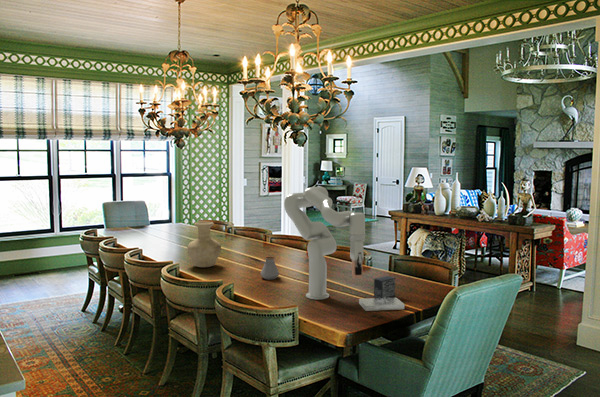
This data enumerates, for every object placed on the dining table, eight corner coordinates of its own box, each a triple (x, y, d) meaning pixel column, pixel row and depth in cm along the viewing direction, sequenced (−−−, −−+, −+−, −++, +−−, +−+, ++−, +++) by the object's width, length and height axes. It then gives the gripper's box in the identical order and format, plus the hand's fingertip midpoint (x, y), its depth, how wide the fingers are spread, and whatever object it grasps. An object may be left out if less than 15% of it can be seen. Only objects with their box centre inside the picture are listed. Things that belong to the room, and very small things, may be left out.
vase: (221, 269, 324) (220, 225, 321) (186, 270, 321) (185, 225, 318) (221, 262, 346) (220, 220, 343) (188, 263, 343) (188, 220, 340)
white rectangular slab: (359, 303, 254) (359, 298, 253) (396, 302, 257) (396, 297, 257) (365, 310, 242) (365, 305, 242) (404, 309, 245) (404, 304, 245)
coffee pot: (271, 274, 312) (271, 251, 311) (282, 278, 303) (283, 254, 302) (243, 280, 298) (243, 256, 297) (254, 284, 290) (254, 259, 288)
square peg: (351, 276, 247) (351, 258, 247) (360, 275, 248) (360, 258, 247) (353, 278, 243) (353, 260, 242) (362, 277, 244) (362, 260, 243)
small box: (386, 293, 272) (386, 275, 271) (395, 296, 267) (395, 277, 266) (373, 297, 265) (373, 278, 264) (382, 300, 260) (382, 280, 259)
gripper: (346, 235, 252) (346, 270, 253) (353, 240, 235) (353, 277, 237) (360, 234, 253) (360, 269, 254) (369, 240, 236) (368, 277, 237)
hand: (357, 273), depth 245 cm, fingers closed on square peg, 4 cm apart
